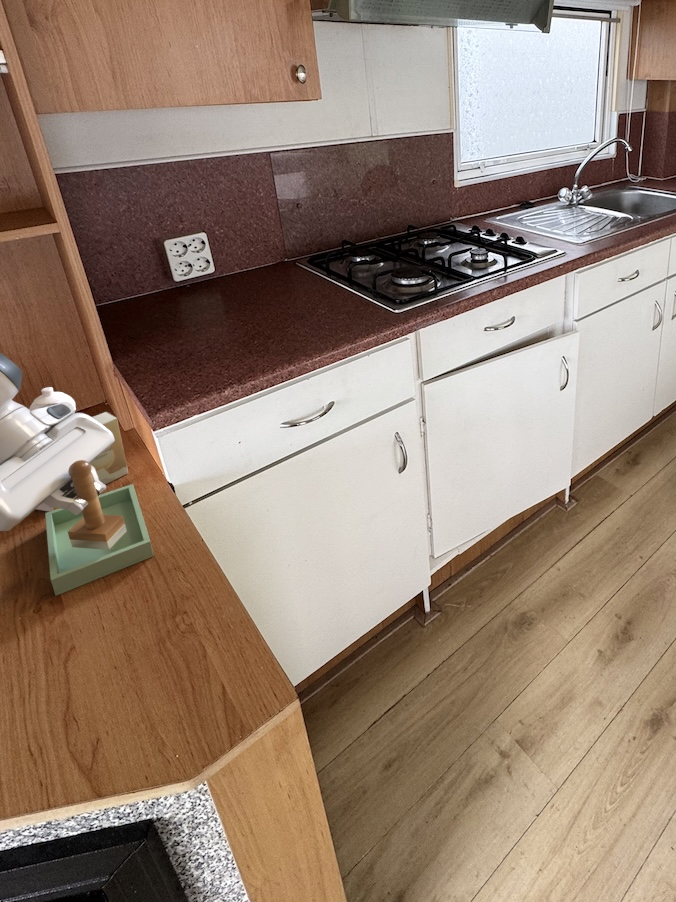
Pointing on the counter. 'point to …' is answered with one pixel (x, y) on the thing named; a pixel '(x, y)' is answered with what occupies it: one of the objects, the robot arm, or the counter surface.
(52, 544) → the tray
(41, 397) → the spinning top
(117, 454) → the cosmetic box
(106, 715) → the counter surface
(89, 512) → the stamp
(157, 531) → the counter surface
